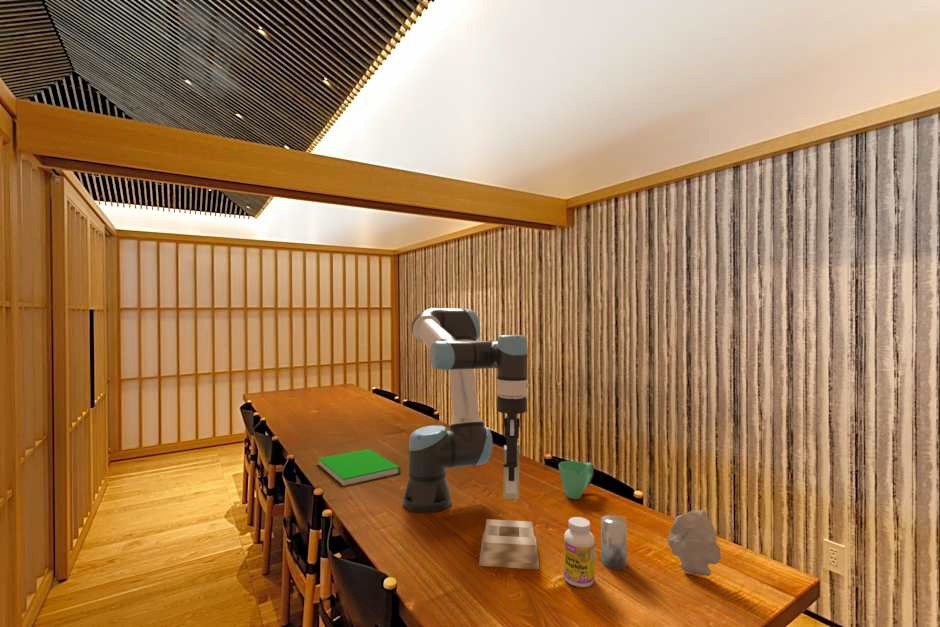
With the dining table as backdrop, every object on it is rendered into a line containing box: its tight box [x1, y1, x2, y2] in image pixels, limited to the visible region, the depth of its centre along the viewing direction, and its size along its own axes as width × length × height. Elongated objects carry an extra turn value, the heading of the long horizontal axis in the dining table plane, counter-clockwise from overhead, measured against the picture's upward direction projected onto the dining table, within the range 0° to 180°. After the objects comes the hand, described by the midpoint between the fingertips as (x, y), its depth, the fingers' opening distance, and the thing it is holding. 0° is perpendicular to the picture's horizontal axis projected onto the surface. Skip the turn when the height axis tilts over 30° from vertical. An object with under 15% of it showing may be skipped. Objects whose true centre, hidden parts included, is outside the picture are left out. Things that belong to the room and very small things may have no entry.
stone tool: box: [667, 509, 722, 577], centre depth 97 cm, size 11×4×15 cm, turn 51°
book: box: [317, 448, 402, 486], centre depth 165 cm, size 22×28×3 cm
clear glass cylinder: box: [600, 514, 628, 571], centre depth 102 cm, size 6×6×10 cm
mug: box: [558, 460, 595, 500], centre depth 143 cm, size 15×10×10 cm
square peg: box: [502, 444, 520, 500], centre depth 107 cm, size 4×4×12 cm
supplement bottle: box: [563, 516, 596, 588], centre depth 95 cm, size 7×7×13 cm
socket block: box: [478, 518, 540, 570], centre depth 106 cm, size 14×14×5 cm
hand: (510, 489), depth 107 cm, fingers closed on square peg, 4 cm apart
